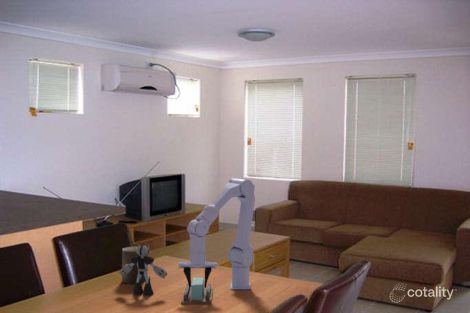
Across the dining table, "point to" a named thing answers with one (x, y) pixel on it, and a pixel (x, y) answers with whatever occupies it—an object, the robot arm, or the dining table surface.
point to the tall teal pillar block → (197, 288)
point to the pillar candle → (126, 259)
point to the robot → (143, 270)
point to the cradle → (205, 300)
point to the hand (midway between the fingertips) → (197, 286)
